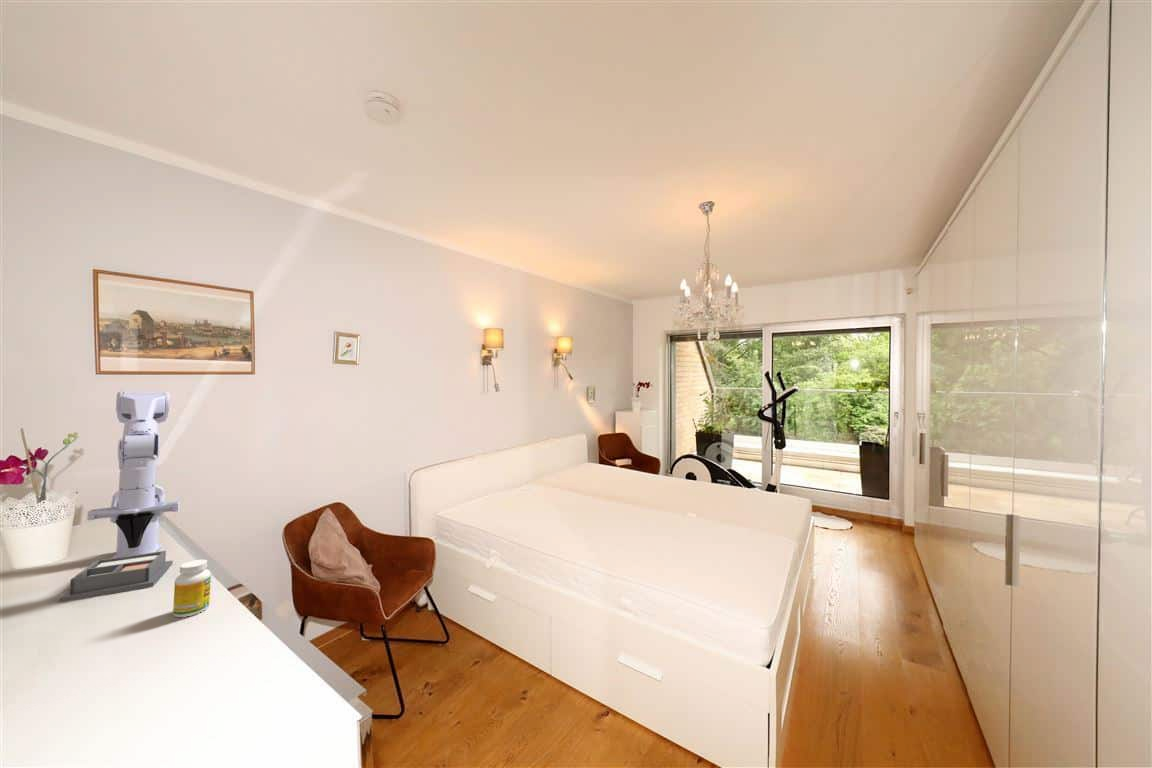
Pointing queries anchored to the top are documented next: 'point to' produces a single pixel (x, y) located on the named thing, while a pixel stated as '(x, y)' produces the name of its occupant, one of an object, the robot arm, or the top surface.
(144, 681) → the top surface
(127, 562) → the space bar
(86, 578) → the grey compartment tray
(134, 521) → the robot arm
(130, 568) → the terracotta key
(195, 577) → the supplement bottle
